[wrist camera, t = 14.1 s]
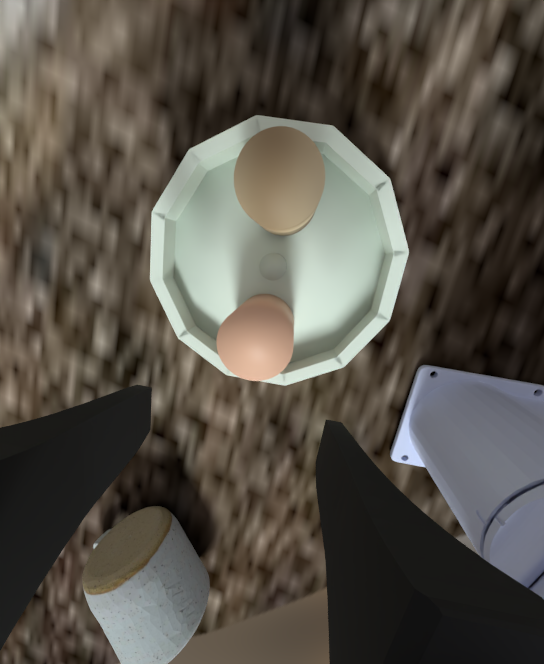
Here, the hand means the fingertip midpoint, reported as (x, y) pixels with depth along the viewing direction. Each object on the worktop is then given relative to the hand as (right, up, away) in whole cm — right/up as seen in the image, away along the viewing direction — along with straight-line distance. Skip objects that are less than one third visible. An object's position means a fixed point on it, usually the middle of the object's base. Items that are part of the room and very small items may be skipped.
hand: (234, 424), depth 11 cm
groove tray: (+2, +8, +7) cm, 11 cm away
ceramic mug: (-9, -16, +15) cm, 24 cm away
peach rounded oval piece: (+1, +4, +8) cm, 9 cm away
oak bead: (+2, +12, +6) cm, 13 cm away
